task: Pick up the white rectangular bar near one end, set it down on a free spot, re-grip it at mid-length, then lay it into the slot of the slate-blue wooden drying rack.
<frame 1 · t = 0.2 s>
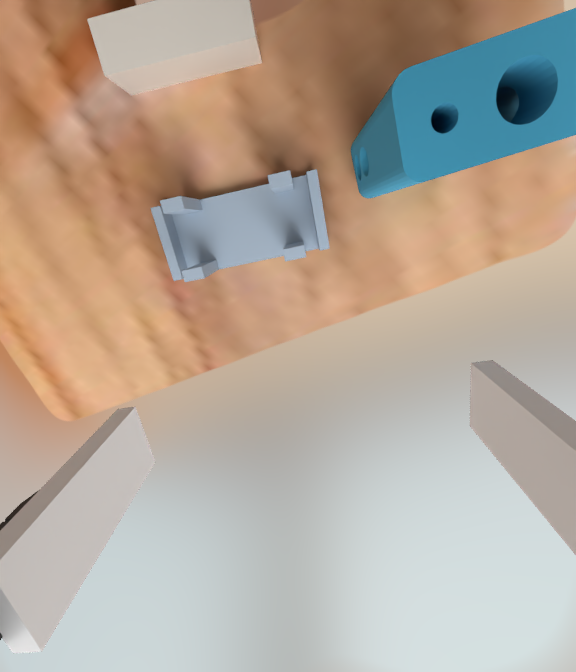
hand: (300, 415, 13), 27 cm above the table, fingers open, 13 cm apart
white rectangular bar: (190, 56, 32), on the table
block: (401, 162, 34), on the table
rack: (246, 227, 37), on the table
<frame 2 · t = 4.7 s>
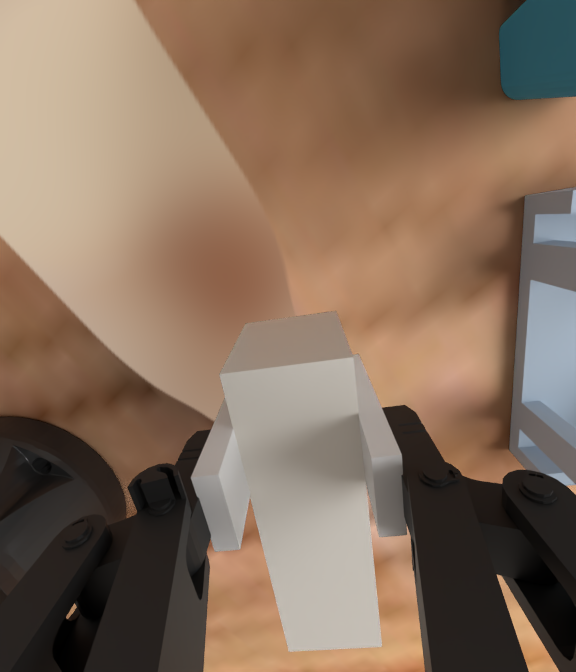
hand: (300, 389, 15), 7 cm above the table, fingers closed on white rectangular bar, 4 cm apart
white rectangular bar: (310, 444, 17), point 6 cm above the table, touching gripper
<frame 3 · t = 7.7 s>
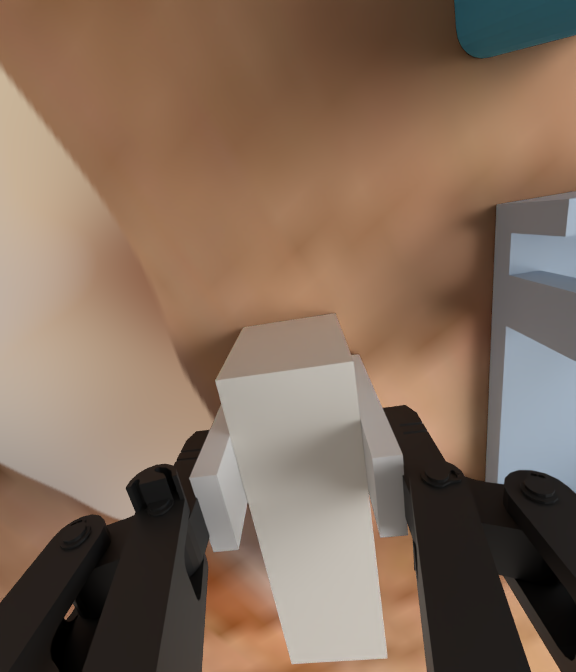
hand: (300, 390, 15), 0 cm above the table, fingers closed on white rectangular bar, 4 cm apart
white rectangular bar: (311, 449, 16), on the table, touching gripper
rack: (574, 390, 15), on the table
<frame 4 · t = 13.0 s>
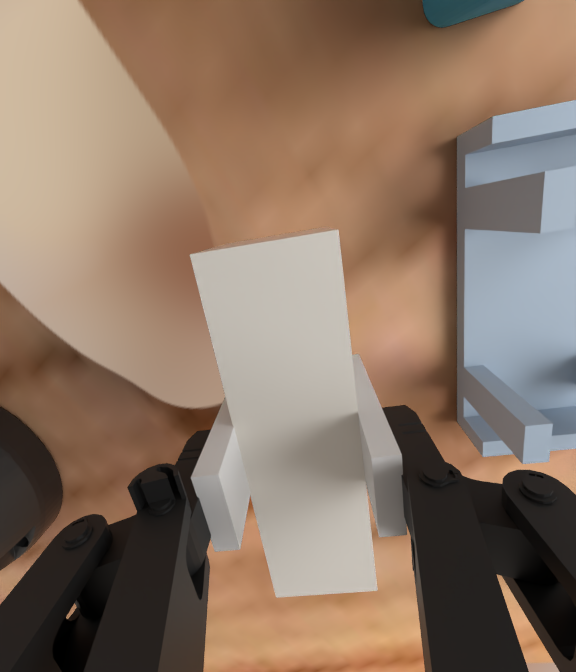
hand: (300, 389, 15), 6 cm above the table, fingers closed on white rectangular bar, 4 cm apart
white rectangular bar: (301, 382, 16), point 6 cm above the table, touching gripper
rack: (524, 289, 19), on the table
when the fingers open (1 cm above the table, at t = 17.0 s): white rectangular bar stays where it is, resting on rack.
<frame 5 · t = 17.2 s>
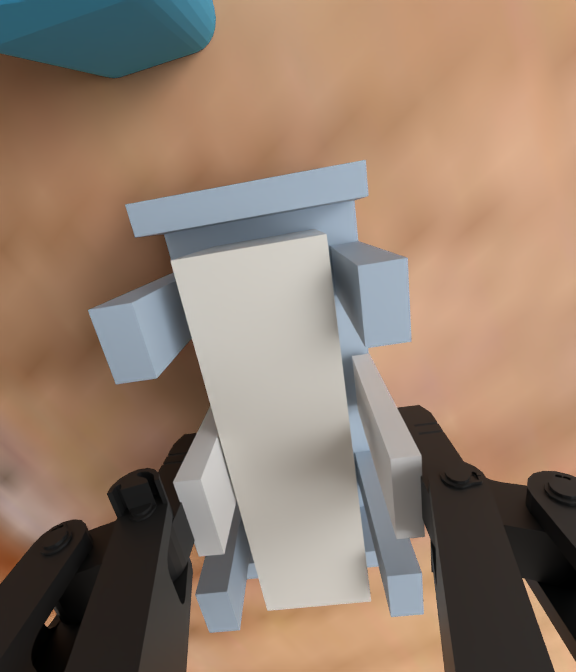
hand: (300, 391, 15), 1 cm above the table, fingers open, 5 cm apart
white rectangular bar: (291, 388, 15), point 1 cm above the table, touching gripper, rack
rack: (289, 378, 16), on the table
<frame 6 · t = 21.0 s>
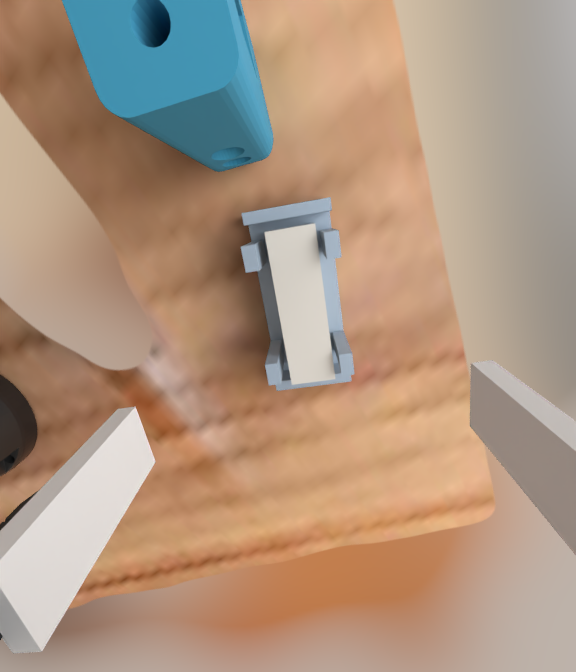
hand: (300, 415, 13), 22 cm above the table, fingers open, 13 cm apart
white rectangular bar: (302, 297, 32), point 1 cm above the table, touching rack
block: (235, 102, 28), on the table
rack: (300, 295, 33), on the table
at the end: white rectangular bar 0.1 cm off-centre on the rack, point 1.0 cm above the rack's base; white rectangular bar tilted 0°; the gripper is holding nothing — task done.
